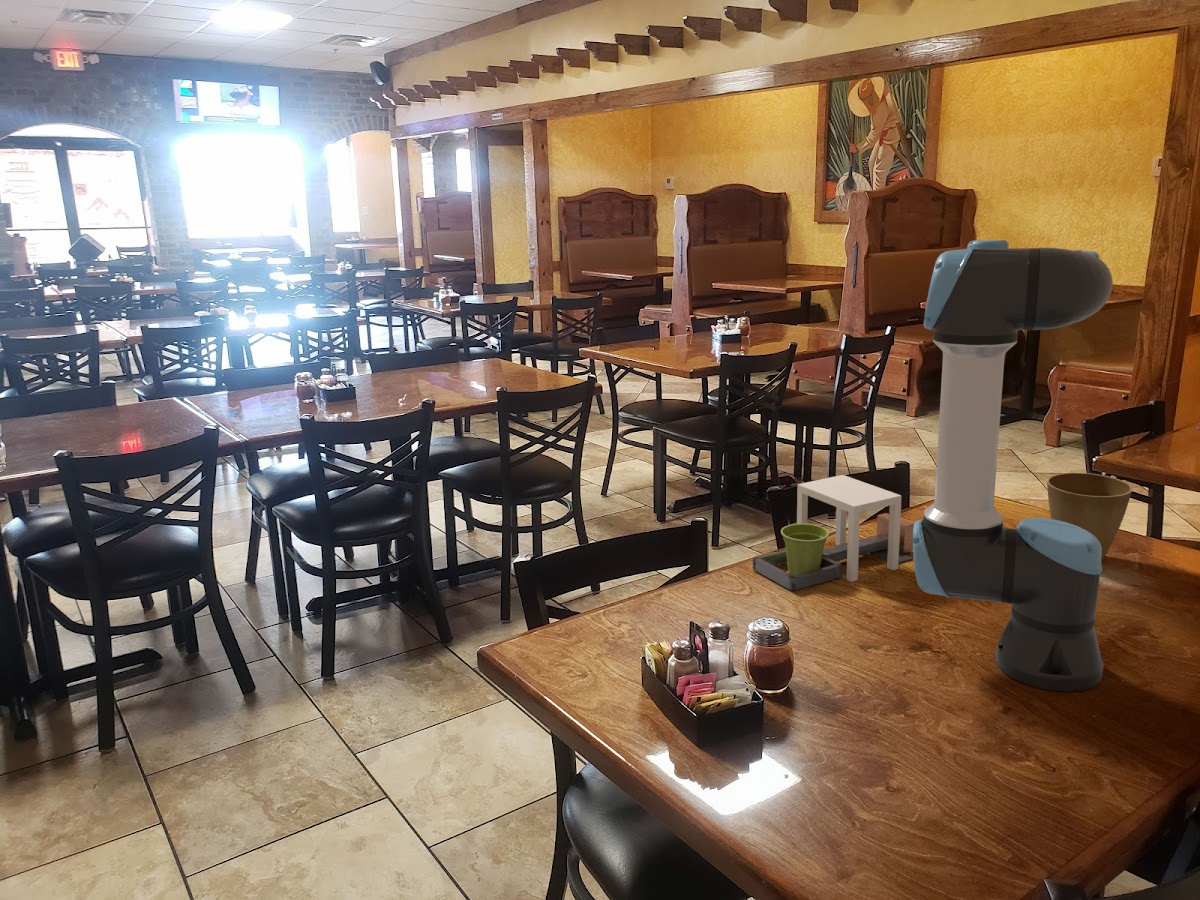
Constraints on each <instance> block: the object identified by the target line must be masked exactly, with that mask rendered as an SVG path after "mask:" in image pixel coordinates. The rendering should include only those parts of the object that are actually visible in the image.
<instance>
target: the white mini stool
mask: <svg viewBox="0 0 1200 900" xmlns="http://www.w3.org/2000/svg"><path fill="white" fill-rule="evenodd" d="M796 492H797V493H796V495H797V496H796V497H797V499H796V500H797V502H796V503H797V504H796V524H808V511H809V510H808V506H809V504H808V503H809V500H808V499H809V497H810V498H813V499H815V500H818V501H821V502H822V503H824V504H825V503H826V504H827V505H831V506H833V507H835V508H836V510H835V511H836V513H835V515H836V516H835V545H834V546H836V545H840V544H844V543H848V545H847V559H846V580H848V582H849V581H850V582H851V583H852V582H856V581H858V580H859V556H858V555H859V540H860V525H861V523H860V522H861V520H860V519H861V518H860V517H861V513H863V512H868V511H873V510H877V509H880V508H881V509H882V508H884V507H889V513H888V514H889V534H888V548H887V549H883V550H879V551H876V552H872V553H869V554H870V555H871V554H873V556H874V557H877V558H878V559H881V560H884V561H885V562H887V563H886V564H887V565H886V568H887V569H889V570H890V571H895V570H899V564H902V563H905V562H909V561H914V557H911V556H909V555H907V554H905V553H902V552H900V551H899V538H900V518H901V515H902V495H901V494H898V493H895V492H893V491H890V490H886V489H884V488H881V487H879V486H876V485H873V484H870V483H866V482H864V481H861V480H859V479H856V478H853V477H851V476H847V475H844V474H841V475H836V476H831V477H830V476H829V477H827V478H826V477H825V478H822V479H817V480H812V481H807V482H802V483H798V484H797V491H796ZM847 513H848V517H847ZM847 518H848V520H847ZM847 525H848V526H847ZM846 537H847V539H846ZM846 540H847V542H846Z"/></svg>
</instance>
